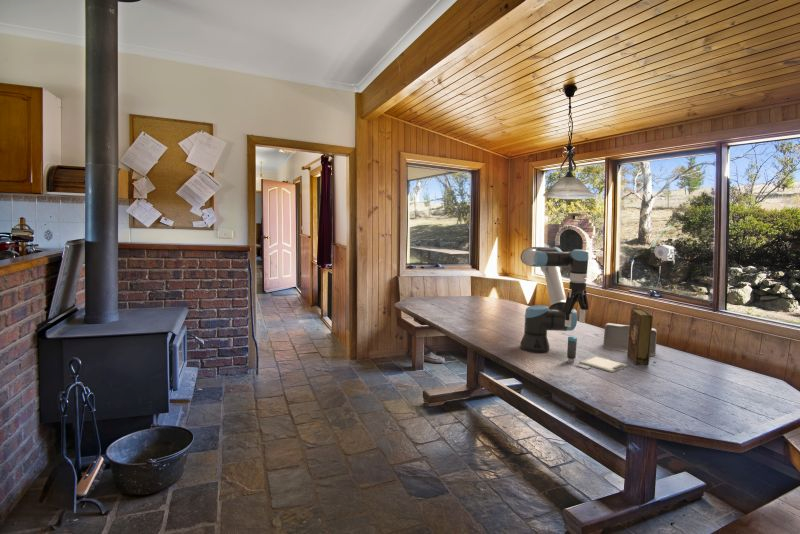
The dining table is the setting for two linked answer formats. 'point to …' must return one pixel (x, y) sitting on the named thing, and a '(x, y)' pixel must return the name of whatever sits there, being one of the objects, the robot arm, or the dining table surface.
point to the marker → (571, 349)
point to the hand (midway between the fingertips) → (574, 324)
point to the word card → (583, 366)
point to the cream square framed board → (603, 364)
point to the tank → (623, 338)
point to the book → (639, 336)
